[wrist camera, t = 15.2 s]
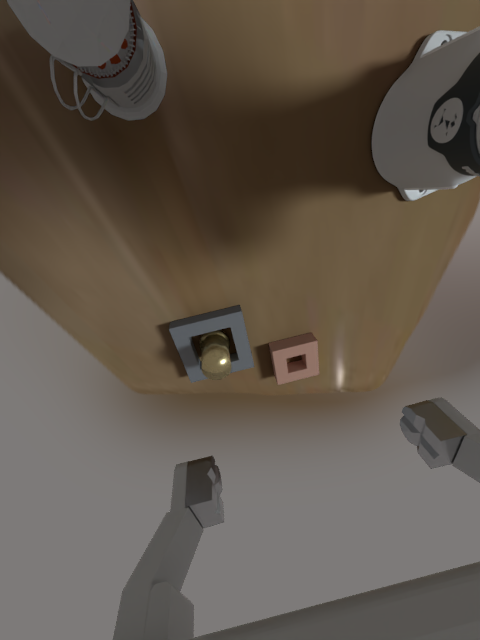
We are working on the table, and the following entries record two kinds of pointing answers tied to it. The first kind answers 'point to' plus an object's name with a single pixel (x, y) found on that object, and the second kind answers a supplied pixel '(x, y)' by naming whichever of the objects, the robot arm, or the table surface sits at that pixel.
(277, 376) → the small socket
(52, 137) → the table surface
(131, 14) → the french press
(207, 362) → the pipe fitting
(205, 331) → the socket block
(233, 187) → the table surface
